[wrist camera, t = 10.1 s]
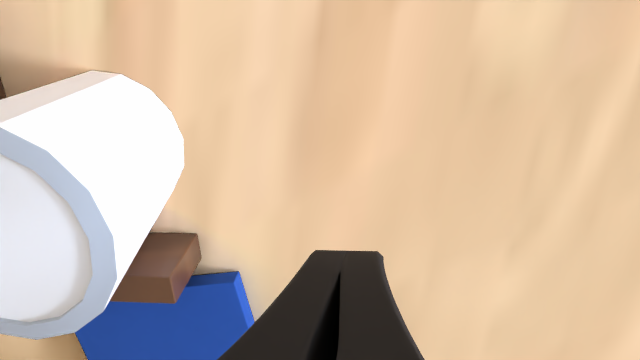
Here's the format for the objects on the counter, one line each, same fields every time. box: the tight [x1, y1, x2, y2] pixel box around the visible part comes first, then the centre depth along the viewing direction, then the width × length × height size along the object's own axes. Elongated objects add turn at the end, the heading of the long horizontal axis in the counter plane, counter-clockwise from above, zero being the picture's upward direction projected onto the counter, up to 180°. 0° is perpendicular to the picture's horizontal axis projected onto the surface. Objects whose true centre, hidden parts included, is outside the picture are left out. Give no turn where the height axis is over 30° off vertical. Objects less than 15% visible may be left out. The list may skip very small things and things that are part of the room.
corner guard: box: [0, 79, 201, 304], centre depth 20 cm, size 8×11×3 cm
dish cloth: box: [75, 271, 255, 360], centre depth 25 cm, size 8×7×1 cm
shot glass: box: [0, 71, 184, 340], centre depth 18 cm, size 7×7×7 cm
